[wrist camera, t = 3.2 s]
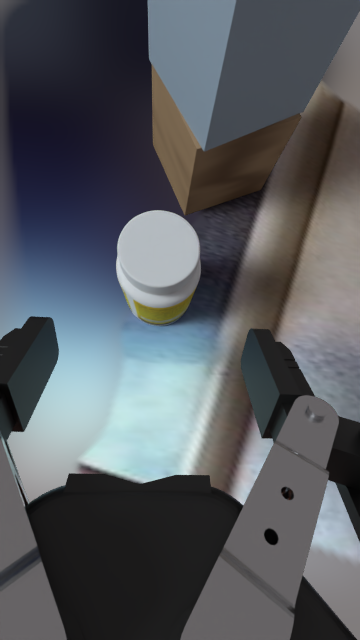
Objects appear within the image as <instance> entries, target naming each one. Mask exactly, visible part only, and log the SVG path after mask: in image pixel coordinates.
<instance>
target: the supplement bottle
mask: <svg viewBox="0 0 360 640" xmlns="http://www.w3.org/2000/svg"><path fill="white" fill-rule="evenodd" d="M117 251H118V257H117V262H116V270H117V276H118V280H119V283H120V285H121V288H122V290H123V293H124V295H125V298H126V300H127V303H128V305H129V307H130V309H131V311H132V312H133V314H134V315H135V316H136V317H137V318H138V319H140V320H141V321H143V322H145V323H147V324H150V325H154V326H164V325H168V324H171V323H173V322H175V321H177V320H178V319H179V318H181V317H182V315H183V314H184V313H185V312H186V310H187V309H188V307H189V304H190V301H191V299H192V297H193V294H194V292H195V289H196V287H197V285H198V282H199V279H200V274H201V263H200V258H199V257H200V244H199V239H198V237H197V234H196V232H195V230H194V229H193V227H192V226H191V225H190V224H189V223H188V222H187V221H186V220H185V219H183V218H182V217H180V216H178V215H177V214H174V213H171V212H168V211H159V210H156V211H148V212H145V213H142V214H140V215H138V216H136V217H134V218H133V219H132V220H130V221H129V222H128V223H127V225H126V226H125V227H124V229H123V230H122V232H121V234H120V237H119V240H118V247H117Z"/></svg>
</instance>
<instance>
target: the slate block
mask: <svg viewBox="0 0 360 640" xmlns="http://www.w3.org/2000/svg"><path fill="white" fill-rule="evenodd" d="M359 11H360V0H148V25H149V26H148V29H149V60H150V61H151V63H152V65H153V67H154V68H155V70H156V72H157V73H158V75H159V77H160V78H161V80H162V82H163V83H164V85H165V87H166V88H167V90H168V92H169V94H170V95H171V97H172V99H173V100H174V102H175V104H176V105H177V107H178V109H179V110H180V112H181V114H182V115H183V117H184V119H185V121H186V122H187V124H188V126H189V127H190V129H191V131H192V132H193V134H194V136H195V137H196V139H197V141H198V142H199V144H200V146H201V148H202V149H203V151H204V152H205V151H207V150H210V149H212V148H215V147H217V146H220V145H222V144H225V143H227V142H230V141H232V140H234V139H237V138H239V137H242V136H244V135H247V134H249V133H252V132H254V131H257V130H259V129H262V128H264V127H267V126H269V125H272V124H274V123H277V122H279V121H282V120H284V119H286V118H289V117H291V116H294V115H296V114H299V113H301V112H304V110H305V108H306V106H307V104H308V103H309V101H310V99H311V97H312V96H313V94H314V92H315V90H316V88H317V87H318V85H319V83H320V81H321V79H322V78H323V76H324V74H325V72H326V70H327V69H328V67H329V65H330V63H331V61H332V60H333V58H334V56H335V54H336V53H337V51H338V49H339V47H340V45H341V44H342V42H343V40H344V38H345V36H346V35H347V33H348V31H349V29H350V27H351V26H352V24H353V22H354V20H355V18H356V17H357V15H358V13H359Z"/></svg>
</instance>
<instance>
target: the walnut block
mask: <svg viewBox="0 0 360 640" xmlns="http://www.w3.org/2000/svg"><path fill="white" fill-rule="evenodd" d="M152 98H153V99H152V104H153V145H154V148H155V150H156V152H157V154H158V157H159V159H160V161H161V163H162V165H163V168H164V170H165V172H166V174H167V177H168V179H169V181H170V183H171V185H172V188H173V190H174V192H175V195H176V197H177V199H178V201H179V203H180V206H181V208H182V210H183V212H184V215H188V214H190V213H194V212H196V211H200V210H203V209H206V208H209V207H212V206H215V205H217V204H220V203H223V202H226V201H229V200H232V199H235V198H238V197H241V196H244V195H247V194H250V193H253V192H256V191H259V190H261V189H262V187H263V185H264V183H265V182H266V180H267V178H268V176H269V174H270V173H271V171H272V169H273V167H274V166H275V164H276V162H277V160H278V158H279V157H280V155H281V153H282V151H283V150H284V148H285V146H286V144H287V142H288V141H289V139H290V137H291V135H292V134H293V132H294V130H295V128H296V127H297V125H298V123H299V121H300V119H301V118H302V117H301V115H300V113H299V114H296V115H294V116H291V117H289V118H286V119H284V120H282V121H279V122H277V123H274V124H272V125H269V126H267V127H264V128H262V129H259V130H257V131H254V132H252V133H249V134H247V135H244V136H242V137H239V138H237V139H234V140H232V141H230V142H227V143H225V144H222V145H220V146H217V147H215V148H212V149H210V150H207V151H205V152H204V151H203V149H202V148H201V146H200V144H199V142H198V141H197V139H196V137H195V136H194V134H193V132H192V131H191V129H190V127H189V126H188V124H187V122H186V121H185V119H184V117H183V115H182V114H181V112H180V110H179V109H178V107H177V105H176V104H175V102H174V100H173V99H172V97H171V95H170V94H169V92H168V90H167V88H166V87H165V85H164V83H163V82H162V80H161V78H160V77H159V75H158V73H157V72H156V70H155V68H154V67H153V65H152Z"/></svg>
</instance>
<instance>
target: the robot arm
mask: <svg viewBox="0 0 360 640" xmlns="http://www.w3.org/2000/svg"><path fill="white" fill-rule="evenodd" d="M58 354H59V349H58V343H57V338H56V332H55V327H54V322H53V319H52V318H50V317H29V319H28V320H27V321H26V323H25V324H24V325H23V327H22V328H21V329H18V328H15V329H14V330H12V331H11V332H9V333H8V334H6V335H5V336H3V338H2V339H1V340H0V640H357V639H356V638H355V637H354V635H353V634H352V633H351V632H350V631H349V629H348V628H347V627H346V626H345V625H344V624H343V622H342V621H341V620H340V619H339V618H338V616H337V615H336V614H335V613H334V612H333V611H332V609H331V608H330V607H329V606H328V605H327V603H326V602H325V601H324V600H323V599H322V597H321V596H320V595H319V594H318V593H317V592H316V590H315V589H314V588H313V587H312V586H311V584H310V583H309V582H308V581H307V580H306V579H305V577H304V576H303V572H304V568H305V564H306V560H307V557H308V553H309V549H310V545H311V542H312V538H313V534H314V530H315V527H316V523H317V519H318V515H319V512H320V508H321V504H322V500H323V497H324V493H325V489H326V485H327V482H328V480H330V481H333V482H335V483H336V485H337V488H338V490H339V493H340V495H341V497H342V500H343V502H344V505H345V507H346V510H347V512H348V515H349V517H350V519H351V522H352V524H353V527H354V529H355V532H356V534H357V536H358V539H359V541H360V423H359V422H356V421H352V420H349V419H346V418H342V417H339V416H338V415H337V413H336V411H335V410H334V409H333V408H332V407H331V406H330V405H329V404H328V403H327V402H325V401H324V400H322V399H320V398H317V397H315V396H314V394H313V392H312V390H311V388H310V386H309V384H308V383H307V381H306V379H305V377H304V375H303V373H302V372H301V370H300V369H299V366H298V364H297V362H296V361H295V359H294V357H293V355H292V353H291V351H290V350H289V349H288V348H287V347H286V346H285V345H284V344H283V343H281V342H275V340H274V338H273V336H272V334H271V332H270V330H268V329H250V330H249V332H248V335H247V339H246V343H245V346H244V350H243V354H242V358H241V369H242V373H243V377H244V380H245V383H246V387H247V390H248V393H249V397H250V400H251V404H252V407H253V410H254V414H255V417H256V420H257V424H258V427H259V430H260V434H261V437H262V438H272V439H273V442H274V444H273V446H272V448H271V450H270V452H269V455H268V457H267V459H266V461H265V463H264V465H263V467H262V469H261V471H260V473H259V475H258V477H257V479H256V481H255V483H254V486H253V488H252V490H251V492H250V494H249V496H248V498H247V500H246V502H245V504H244V506H243V505H242V504H241V503H240V502H239V501H237V500H236V499H235V498H233V497H232V496H231V495H229V494H227V493H225V492H224V491H221V490H219V489H217V488H214V487H211V484H210V476H209V475H174V476H170V477H166V478H162V479H158V480H155V481H151V482H147V483H143V484H137V483H133V482H130V481H126V480H123V479H120V478H116V477H113V476H109V475H106V474H69V475H68V479H67V482H66V485H65V486H61V487H58V488H56V489H53V490H50V491H49V492H46V493H45V494H42V495H41V496H39V497H38V498H36V499H35V500H33V501H32V502H30V503H29V500H28V498H27V495H26V493H25V490H24V487H23V484H22V482H21V479H20V476H19V473H18V470H17V467H16V465H15V462H14V459H13V456H12V453H11V450H10V448H9V445H8V442H7V439H8V437H9V435H10V433H11V431H14V432H24V430H25V429H26V427H27V424H28V422H29V420H30V418H31V416H32V414H33V412H34V410H35V407H36V405H37V403H38V401H39V399H40V397H41V394H42V393H43V391H44V389H45V386H46V384H47V382H48V380H49V378H50V376H51V374H52V371H53V369H54V367H55V365H56V363H57V360H58Z"/></svg>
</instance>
